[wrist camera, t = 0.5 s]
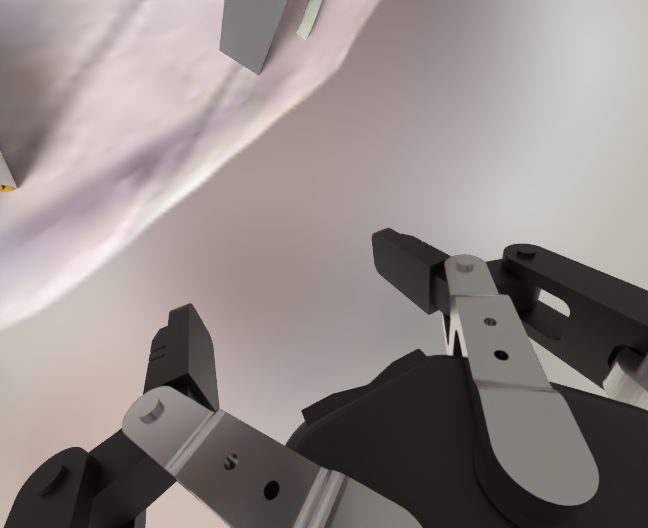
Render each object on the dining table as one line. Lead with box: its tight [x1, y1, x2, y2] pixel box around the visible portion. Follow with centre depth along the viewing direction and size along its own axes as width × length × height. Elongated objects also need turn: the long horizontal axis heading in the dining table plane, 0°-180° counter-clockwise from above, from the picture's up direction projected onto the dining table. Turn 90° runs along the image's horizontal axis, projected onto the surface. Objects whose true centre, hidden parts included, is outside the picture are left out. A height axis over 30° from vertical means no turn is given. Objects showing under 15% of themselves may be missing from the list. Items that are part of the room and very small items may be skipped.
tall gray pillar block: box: [220, 0, 288, 75], centre depth 26 cm, size 5×4×12 cm
